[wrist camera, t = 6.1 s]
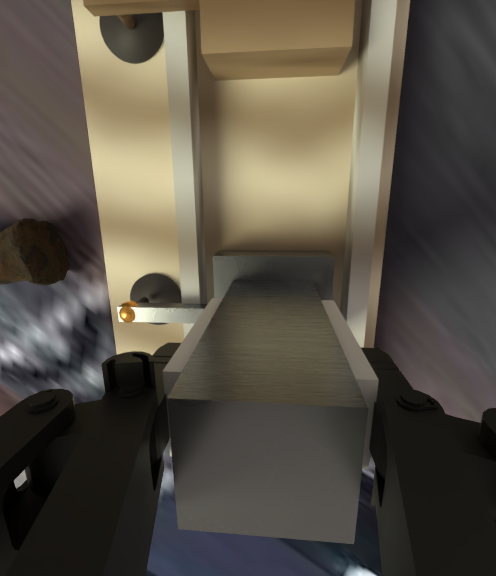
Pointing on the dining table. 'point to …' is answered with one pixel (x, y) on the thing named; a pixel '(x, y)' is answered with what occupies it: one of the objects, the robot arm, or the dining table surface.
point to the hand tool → (32, 253)
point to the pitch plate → (239, 142)
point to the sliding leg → (265, 403)
